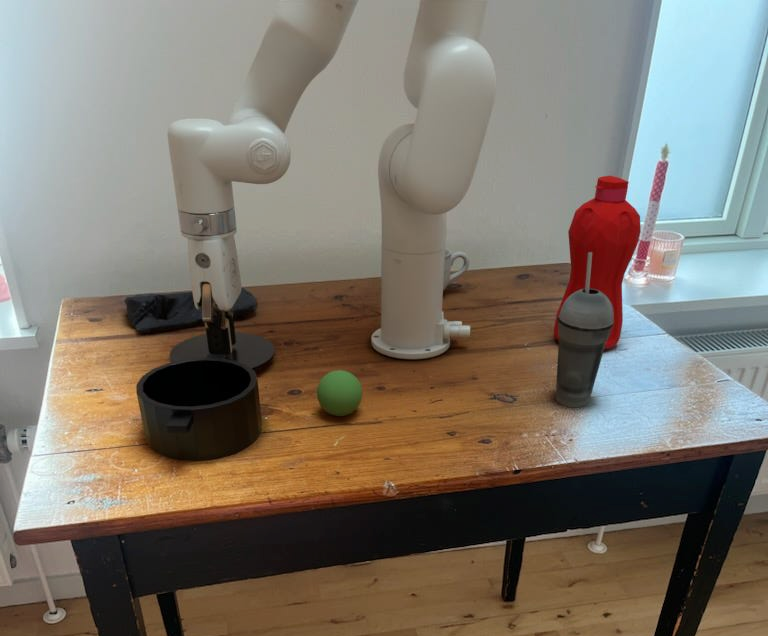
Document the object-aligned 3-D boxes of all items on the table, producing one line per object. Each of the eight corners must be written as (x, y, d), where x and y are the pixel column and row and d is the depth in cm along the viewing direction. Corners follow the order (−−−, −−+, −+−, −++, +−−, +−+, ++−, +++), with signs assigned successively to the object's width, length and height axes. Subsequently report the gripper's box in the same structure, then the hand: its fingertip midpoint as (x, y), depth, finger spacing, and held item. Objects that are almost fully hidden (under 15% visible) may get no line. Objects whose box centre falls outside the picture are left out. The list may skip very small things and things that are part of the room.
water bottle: (635, 346, 121) (670, 179, 106) (580, 358, 117) (609, 186, 102) (597, 326, 127) (626, 167, 113) (544, 337, 123) (567, 173, 109)
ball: (364, 403, 104) (363, 363, 100) (360, 424, 99) (360, 383, 95) (320, 402, 104) (318, 362, 100) (315, 423, 99) (313, 381, 96)
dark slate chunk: (264, 322, 128) (262, 294, 125) (131, 337, 122) (125, 309, 119) (248, 293, 140) (246, 267, 137) (125, 305, 134) (120, 279, 131)
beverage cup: (568, 416, 101) (593, 267, 89) (535, 394, 106) (554, 251, 95) (609, 405, 104) (639, 259, 92) (575, 384, 109) (599, 243, 97)
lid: (282, 340, 120) (280, 303, 116) (265, 383, 107) (262, 343, 104) (186, 337, 120) (180, 300, 117) (157, 379, 108) (150, 339, 104)
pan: (273, 397, 105) (269, 350, 101) (245, 474, 89) (239, 422, 85) (170, 394, 105) (162, 347, 101) (123, 470, 89) (111, 418, 85)
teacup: (387, 301, 137) (388, 256, 132) (396, 282, 145) (397, 239, 141) (464, 306, 135) (467, 261, 130) (468, 286, 143) (471, 243, 139)
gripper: (221, 239, 95) (236, 372, 106) (246, 207, 109) (257, 329, 119) (163, 237, 96) (183, 371, 106) (195, 206, 109) (210, 327, 120)
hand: (222, 347), depth 113 cm, fingers closed on lid, 2 cm apart
